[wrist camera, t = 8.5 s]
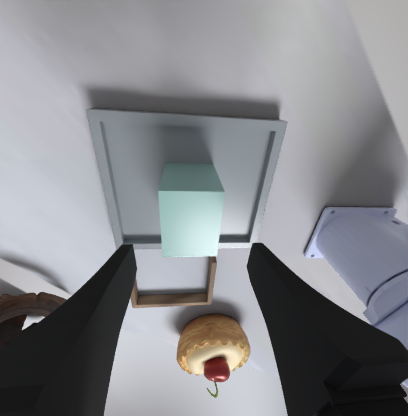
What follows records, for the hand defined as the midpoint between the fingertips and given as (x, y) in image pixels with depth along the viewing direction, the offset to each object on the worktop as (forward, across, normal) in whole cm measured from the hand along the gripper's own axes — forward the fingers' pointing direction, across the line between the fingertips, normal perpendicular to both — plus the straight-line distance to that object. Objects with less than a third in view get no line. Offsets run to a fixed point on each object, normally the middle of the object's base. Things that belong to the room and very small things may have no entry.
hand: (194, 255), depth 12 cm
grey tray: (+10, 0, 0) cm, 10 cm away
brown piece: (+10, +21, +19) cm, 30 cm away
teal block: (+9, 0, 0) cm, 9 cm away
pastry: (+10, -5, +28) cm, 30 cm away
